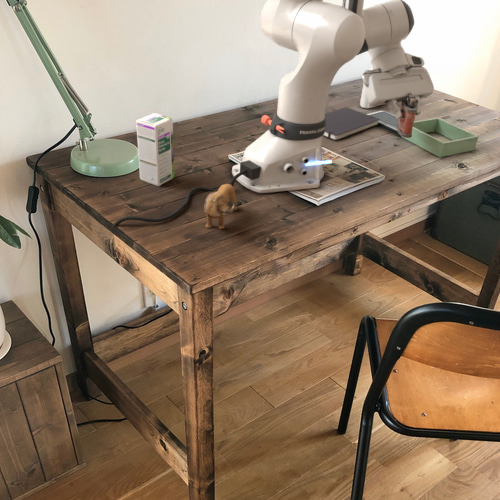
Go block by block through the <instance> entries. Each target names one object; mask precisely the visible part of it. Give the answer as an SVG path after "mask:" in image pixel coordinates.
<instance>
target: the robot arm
mask: <svg viewBox="0 0 500 500" xmlns="http://www.w3.org/2000/svg"><path fill="white" fill-rule="evenodd" d="M364 2H365V0H342V5H338V4H335V3H332V2H326V1H324V0H267V1H266V2H265V4H264V5H263V7H262V9H261V13H260V29H261V31H262V34H263V35H264V36H265V37H266V38H267V39H269V40H270V41H272V43H274V44H276V45H277V46H279V47H280V48H283V49H287V50H291V51H293V52H296V53H299V54H298V55H299V56H298V62H297V66H296V67H295V69H293V70H291V71H289V72H288V73H286V74H285V75H284V76H283V77H282V78H281V79H280V81H279V86H278V96H277V98H278V99H277V106H276V107H277V108H276V109H277V110H276V111H275V113H274V116H273V117H272V118H271V117H269V116H268V115H267V114H264V115H262V117H261V119H260V122H261V123H262V124H263V125H264V126H267V127H268V129H267V130H266V131H265V132H264V133H262V135H260V136H259V137H258V138H257V139H255V140H254V141H253V142H252V143H250V144H249V145H248V146H247V147H246V148H245V149H244V153H243V156H242V159H241V161H240V162H239V163H238V164H235V165H232V169H231V174H232V178H231V180H230V184H231V185H232V186H233V187H234V186H235V182H238V183H239V184H240V185H242V186H243V187H244V188H246V189H248V190H250V191H252V192H255V193H258V194H269V193H278V192H288V191H298V190H309V189H316V188H319V187H320V183H321V180H322V179H323V178H324V177H325V171H324V166H323V165H326V164H332V159H327V160H323V139H324V138H323V137H324V136H323V135H324V133H325V127H326V117H325V114H326V111H327V104H328V98H329V93H330V89H331V85H332V83H333V80H334V79H335V77H336V75H337V73H338V72H339V71H340V69H341V68H342V67H343V66H344V65H346V64H347V63H349V62H350V61H352V60H353V59H354V58H355V57H356V56H359V55H362V54H363V53H368V54H369V56H370V63H371V66H372V67H371V68H373V69H374V70H370V69H367V70H365V71H364V72H363V73H362V76H361V80H362V81H363V83H364V87H365V92H366V96H367V100H368V103H369V104H370V105H371V106H376V107H378V105H379V106H382V105H383V106H384V105H387V108H388V109H389V110H390V111H391V112H392V113H393V114H394V116H395V118H396V119H398V120H399V118H402V117H404V115H405V114H404V111H403V109H401V108H400V107H399V106H398V103H402V100H403V99H407V95H408V93H412V95H415V99H416V102H415V104H416V105H417V108H418V110H417V112H416V115H415V116H418V115H420V114H422V110H421V99H422V100H423V99H427V98H429V96H431V95H432V94H433V93H434V90H435V86H434V84H433V80H432V78H431V76H430V73H429V71H428V70H427V68H426V67H424V66H425V60H424V58H422V57H421V56H417V55H414V54H410V53H408V52H406V51H405V48H404V47H403V45H402V41H404V40H406V39H407V38H408V36H409V35H410V33H411V32H412V30H413V28H414V26H415V18H414V14H413V10H412V8H411V7H410V5H409V4H408V3H406V2H405V0H388V1H385V2H382V3H379V4H374V5H370V6H369V7H366V8H364ZM218 190H219V189H216V188H211V187H206V186H196V187H193V188H191V189H189V191H188V192H187V194H186V197H185V200H184V202H183V203H182V204H181V205H180V206H179V207H178V208H177V209H176V210H174V211H173V212H171V213H170V214H168V215H166V216H162V217H157V218H155V217H154V218H151V217H145V216H138V215H128V216H124V217H123V216H122V217H121V218H119V219H117V220H116V221H115V222H114V223H113V224H112V227H118V226H119V225H120V224H121V223H123V222H126V221H141V222H147V223H161V222H164V221H167V220H171V219H172V218H174V217H176V216H177V215H178V214H179V213H181V211H183V210H184V209H185V208H186V207H187V205H188V204H189V201H190V197H191V195H192V194H193V193H195V192H198V191H206V192H214V191H215V192H217V191H218Z"/></svg>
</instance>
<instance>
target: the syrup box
mask: <svg viewBox="0 0 500 500" xmlns="http://www.w3.org/2000/svg"><path fill="white" fill-rule="evenodd" d="M135 124H136V125H135V127H136V139H137V141H136V142H137V154H138V157H137V158H138V169H139V179H140V180H141V181H142V182H145V183H148V184H151V185H153V186H157V187H161V185H163V184H166V183H167V182H169V181H170V180H173V179H174V178H175V153H174V150H175V149H174V122H173V118H171V117H169V116H167V115H163V114H159V113H154V112H153V113H151V114H149V115H146V116H144V117H142V118H139V119H136V121H135Z"/></svg>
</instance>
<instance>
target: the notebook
mask: <svg viewBox="0 0 500 500" xmlns="http://www.w3.org/2000/svg"><path fill="white" fill-rule="evenodd" d="M325 117H326V127H325V133H324V135H323V137H325V138H328V139H330V140H333V141H338V140H341V139H344V138H346V137H349V136H352V135H354V134H357V133H360V132H362V131H365V130H367V129H371V128H373V127H376V126H378V125H379V121H380V118H378V117H375V116H373V115H371V114H370V115H369V114H366V113H364V112H361V111H359V110H356V109H353V108H350V107H347V106H345V107H343V108H339V109H335V110H333V111H330V112H328V113H325Z"/></svg>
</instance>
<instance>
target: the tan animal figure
mask: <svg viewBox="0 0 500 500" xmlns="http://www.w3.org/2000/svg"><path fill="white" fill-rule="evenodd" d="M217 190H218V191H217V192H215V191H211V192H210V193H209V194H208V195H207V196H206V198H205V199H204V204H203V211H204V214H205V216H206V221H207V223H206V224H205V225H204V226H205V228H206V229H211V228H212V226H213V223H212V220H217V219H218V221H217V222H218V223H217V226H218V229H220V230H223V229H225V228H226V226H225V225H224V220H225V215H226V213H227V211H229V209H230V206H228V205H227V204H230V203H232V207H231V210H232V211H237V210H238V206H237V205H238V200H237V198H236V189H235V187H234V186H232V185H231V183H225V184H222V185H220V186H219V188H218V189H217Z"/></svg>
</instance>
